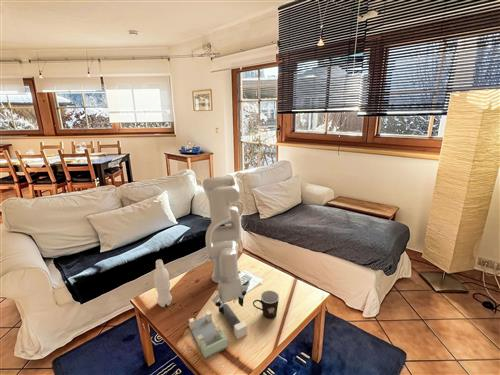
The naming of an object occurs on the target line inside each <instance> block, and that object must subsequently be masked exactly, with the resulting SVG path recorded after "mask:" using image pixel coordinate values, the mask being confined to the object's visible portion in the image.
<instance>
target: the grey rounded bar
mask: <svg viewBox="0 0 500 375" xmlns="http://www.w3.org/2000/svg"><path fill="white" fill-rule="evenodd" d="M223 308H224V315H223V316H224V317H225V318H226V320H227V321H228V322H229V324H230V325H231V328H232V329H233V335H234V336H235V337H236V339H237V340H239V339H240V338H243V337H245V336H246V335H248V325H247V324H246V322H245V321H244V320H243V321H240V319H239V318H238V317H237V315H236V314H235V313H234V311H233V310H232V308H231V307H230V306H229V305H228V304H227V303H224V305H223Z"/></svg>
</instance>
